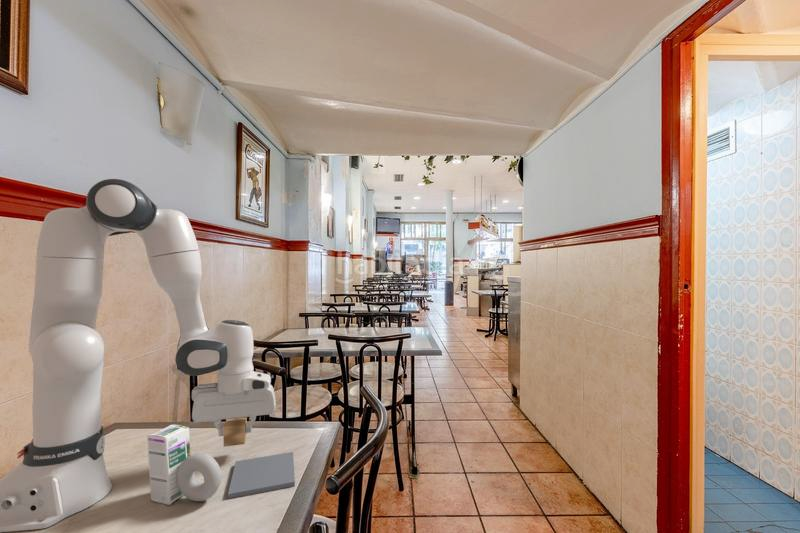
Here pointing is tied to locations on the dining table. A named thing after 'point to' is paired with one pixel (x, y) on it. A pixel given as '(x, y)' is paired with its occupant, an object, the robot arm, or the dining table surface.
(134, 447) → the dining table surface
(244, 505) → the dining table surface
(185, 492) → the donut
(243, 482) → the slate mat
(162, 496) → the syrup box
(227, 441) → the oak cube
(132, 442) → the dining table surface
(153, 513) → the dining table surface
